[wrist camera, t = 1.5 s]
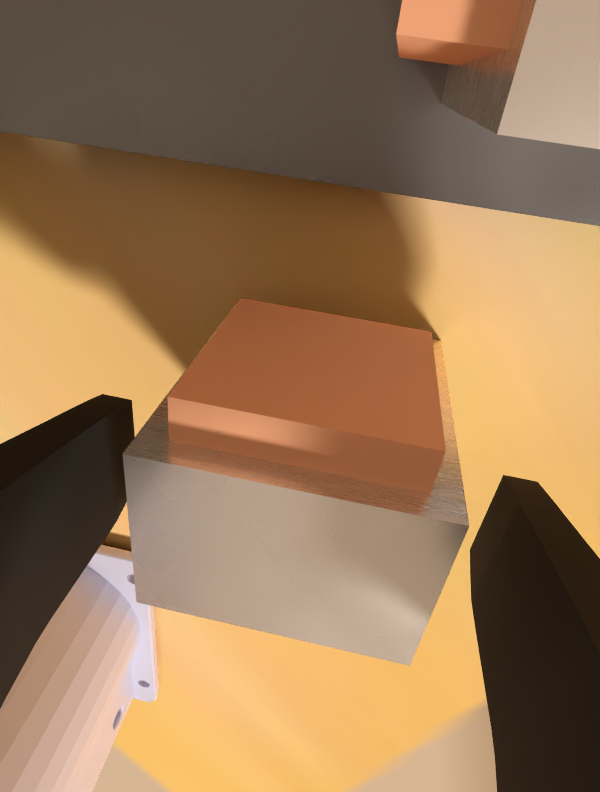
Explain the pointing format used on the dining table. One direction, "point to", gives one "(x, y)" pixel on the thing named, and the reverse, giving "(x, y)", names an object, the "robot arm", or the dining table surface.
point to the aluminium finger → (302, 482)
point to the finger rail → (326, 91)
